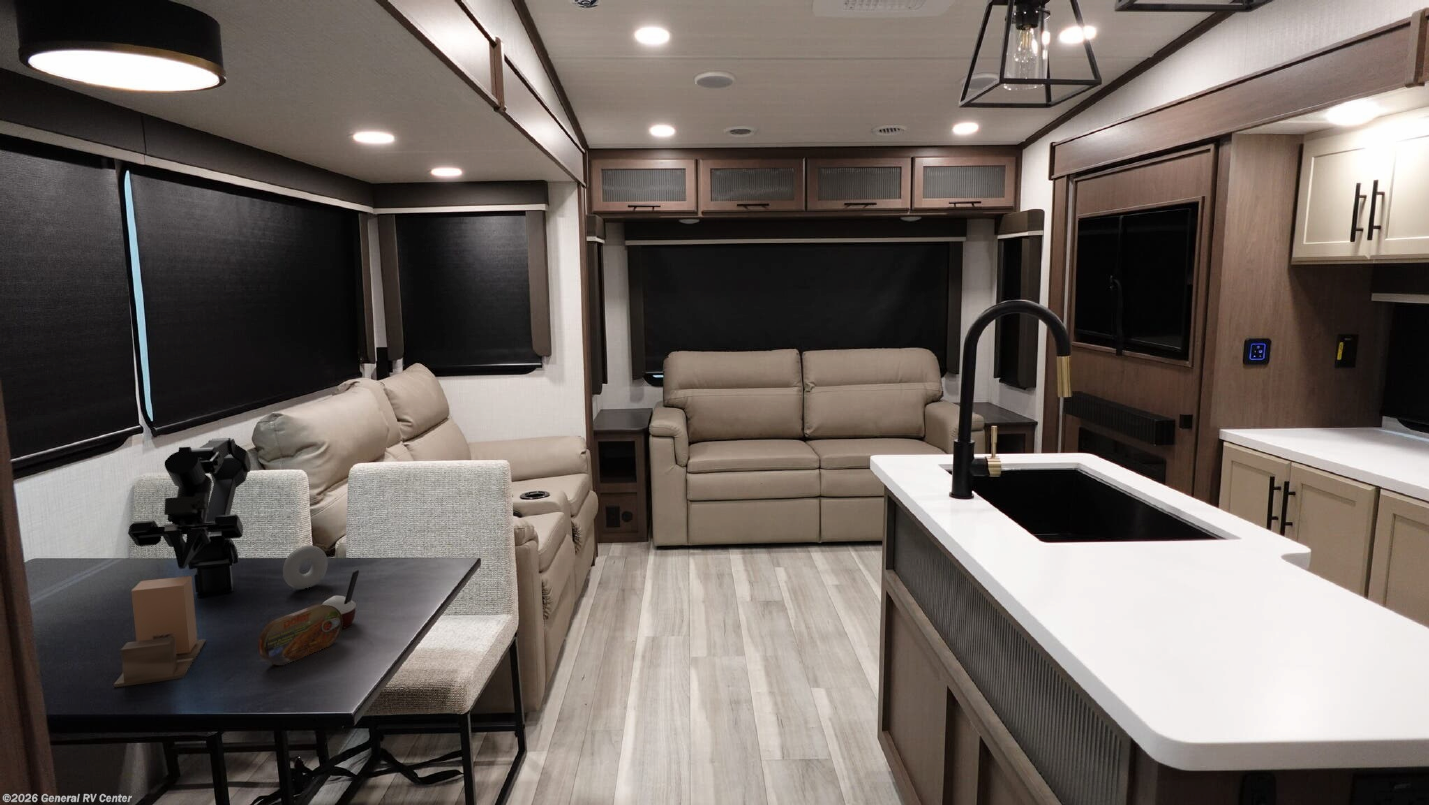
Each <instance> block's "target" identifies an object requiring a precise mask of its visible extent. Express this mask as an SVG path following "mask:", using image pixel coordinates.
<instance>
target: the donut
mask: <svg viewBox="0 0 1429 805" xmlns="http://www.w3.org/2000/svg"><path fill="white" fill-rule="evenodd" d="M306 561H309V562H310V563H311V566H310V568H309V571H307V572H306V573H301V572H300V568H301V566H302V564H304V562H306ZM328 564H329V561H328V558H327V555H326V553H325V551H324V550H323V549H321V548H320V547H318V546H316V545H311V544H310V545H302V546H301V547H298V548H295V549H294V550H293V551H292V552H291V553H289V555H288V556H287V558H286V559H285V560H284V564H283V567H282V575H283V579H284V582H286V584H287V585H288V586H290V587H291V588H292V589H296V590H306V589H305V588H307V589H309V587H310V588H312V587H314V586H316V585H317V584H318V583H320V582H321V581H322V579H323V578H324V577H325V574H326V573H327V570H328Z"/></svg>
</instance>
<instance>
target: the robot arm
mask: <svg viewBox="0 0 1429 805" xmlns="http://www.w3.org/2000/svg"><path fill="white" fill-rule="evenodd" d="M164 467H165V470H166V472H167V473H168V475H169V477H170V479H171V481H172V483H173V485H174V486H176V487H178V489H177V494H176V496H175V497H166V498H165V499H164V511H163V512H164V515H165V516H167V522H169V523H168V524H166V523H164V524H163V526H158V523H157V522H156V520H154V519H153V520H142V521H133V523H131V524H130V525H129V527H128V533H127V534H128V535H129V538H130V539H131V540H132V541H133V543H134V544H135V545H136V546H138V547H147V546H156V545H157V544H158V543H160V542H161V541H162V538H163V539H164V541H165V542H166V544H167V546H168V547H170V548H173V551H174V554H175V559H176V563H177V566H178V569H179V570H183V569H186V567H188V569H189V570H191V571H192V570H196V571H195V573H194V575H193V576H194V588H195V593H197V597H198V598H202V597H210V596H215V595H217V596H218V595H222V594H223V595H224V594H229V593H232V592H233V590H234V581H233V573H232V566H234V564H238V563H239V562H240V560H239V554H238V548H237V547H236V545H235V543H234V541H233V539H240V538H242V537H243V533H244V525H243V523H242V521H241V519H240V517H239V516H238V515H237V514H236V513H231V511H232V507H233V502H234V497H235V494H236V490H237V488H238V487H239V486H240V485H242V484H243V483H245V482H246V480H247V477H248V474H249V473H250V472H251V467H252V466H251V458H250V457H249V453H248V451H247V450H246V449H245V448H243V447H242V446H240V445H238V444H236V441H235V439H234V438H231V437H220V438H219V437H218V438H212V439H209V440H208V441H207V442H206V443H205V444H203V445H201V446H200V447H195V448H194V447H193V448H191V446H180V447H178V451H176V452H173V453H171V454H170V455H169V456H168V457H167V458H166V460H165V461H164ZM208 475H210V476H211V477H210V476H208ZM212 484H213V486H212ZM184 535H186V539H184ZM185 540H186V541H185Z"/></svg>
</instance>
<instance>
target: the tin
mask: <svg viewBox="0 0 1429 805" xmlns="http://www.w3.org/2000/svg"><path fill="white" fill-rule="evenodd" d="M322 604H323V603H322ZM322 604H319V603H318V604H314V605H311V606H308V607H306V608H303V609H300V610H297V611H295V612H292V613H289V614H286V615H284V616H280V617H278V618H275V619H274V620H272V621H271V622H269V623H268V624H267V625H266V626H265V627H264V628H263V630H262V631H261V633H260V635H259V637H258V651H259V654H260V657H262V659H264V660H266V661H267V662H269V663H271V664H273V665H276V666H285V664H286V665H288V664H287V663H289V664H291V663H290V662H291V661H294V662H296V660H297V659H299V658H301V659H303V657H304V656H306V657H308V656H310V655H309V654H311V655H313V654H315V653H314V652H316V653H317V651H318V652H320V651H319V650H320V649H323V650H325V649H327V648H328V647H331V646H333V644H334V643H335V642H336V641H337V640H338V639H339V636H340V635H341V632H342V630H343V629H342V626H343V619H342V615H341V613H340V611H339V610H338V609H337V608H335V607H333V606H329V605H322ZM326 647H327V648H326ZM324 648H325V649H324ZM312 653H313V654H312ZM307 655H308V656H307ZM304 658H305V657H304ZM299 660H300V659H299ZM297 661H298V660H297Z"/></svg>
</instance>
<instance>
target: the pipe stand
mask: <svg viewBox="0 0 1429 805" xmlns="http://www.w3.org/2000/svg"><path fill="white" fill-rule="evenodd" d="M197 640H198V641H197V643H196V644H195V646H194V647H193V648H192V650H191V651H190V652H189V653H181V654H176V647H175V637H167V638H159V639H151V640H143V641H136V640H134V641H127V642H126V643H125V644H124V645H123V647H122V648H120V654H121V655H120V657H121V664H122V674H121V675H120V676H119V677H118V678H117V680H116V681H115V682H114V683H113V688H120V687H121V688H122V687H128V686H134V685H143V684H150V683H155V682H164V681H171V680H179V679H180V680H181V679H183V678H184V676H185V675H186V673H187V672H188V671H187V670H189V669H190V668H191V666H190V665H193V663H194V661H195V660H196V658H197V657H198V655H199V654H200V652H201V651H200V649H201V648H202V647H203V648H204V646H205V645H204V643H205V642H207V639H206V638H203V639H197ZM205 644H206V643H205ZM203 645H204V646H203ZM203 648H202V649H203ZM202 649H201V650H202ZM198 653H199V654H198ZM197 654H198V655H197ZM196 656H197V657H196ZM194 659H195V660H194ZM192 662H193V663H192ZM188 668H189V669H188Z"/></svg>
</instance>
